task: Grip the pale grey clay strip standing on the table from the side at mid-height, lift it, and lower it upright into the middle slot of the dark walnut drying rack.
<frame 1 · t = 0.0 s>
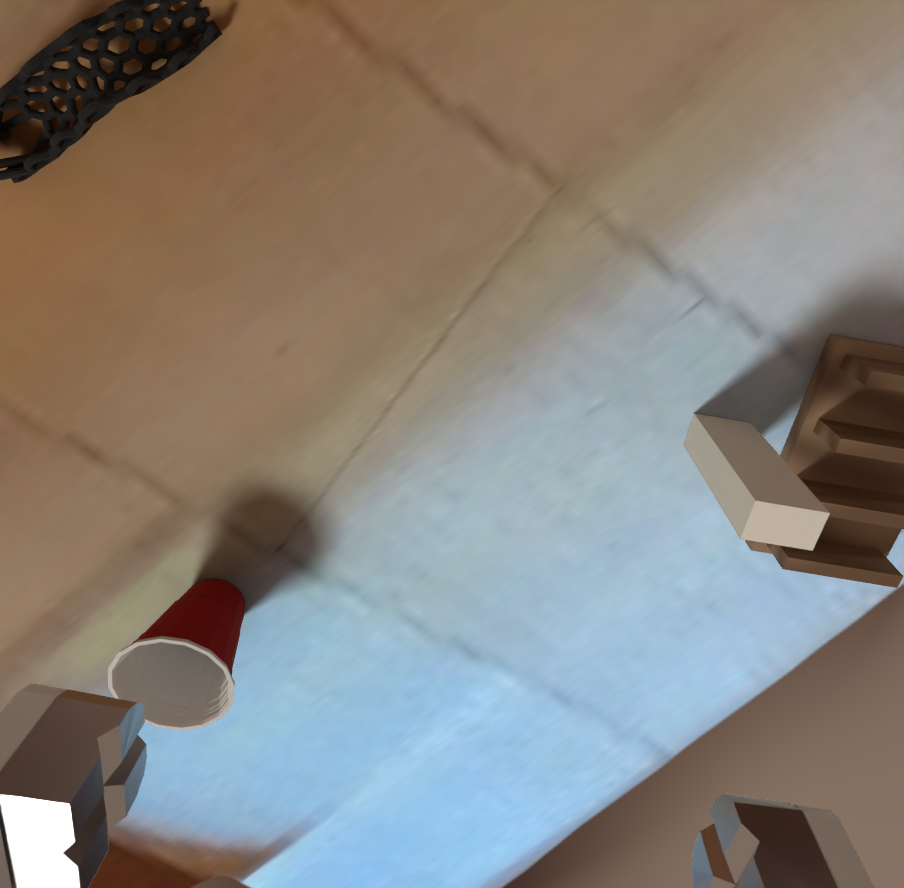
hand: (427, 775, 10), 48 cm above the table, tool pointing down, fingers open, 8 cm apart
decorative element: (95, 97, 50), on the table
drying rack: (852, 456, 59), on the table
clay strip: (716, 433, 59), on the table
plastic cup: (220, 600, 70), on the table
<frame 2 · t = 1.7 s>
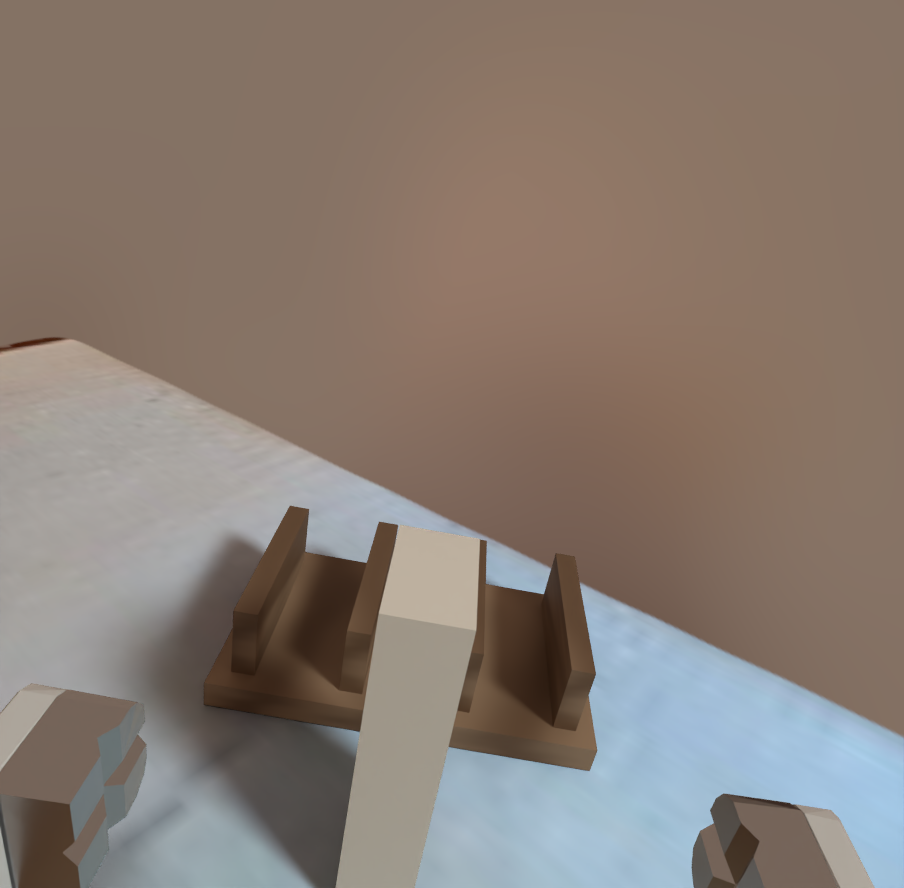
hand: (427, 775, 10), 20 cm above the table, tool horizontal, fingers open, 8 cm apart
drying rack: (411, 654, 40), on the table
clay strip: (379, 852, 29), on the table
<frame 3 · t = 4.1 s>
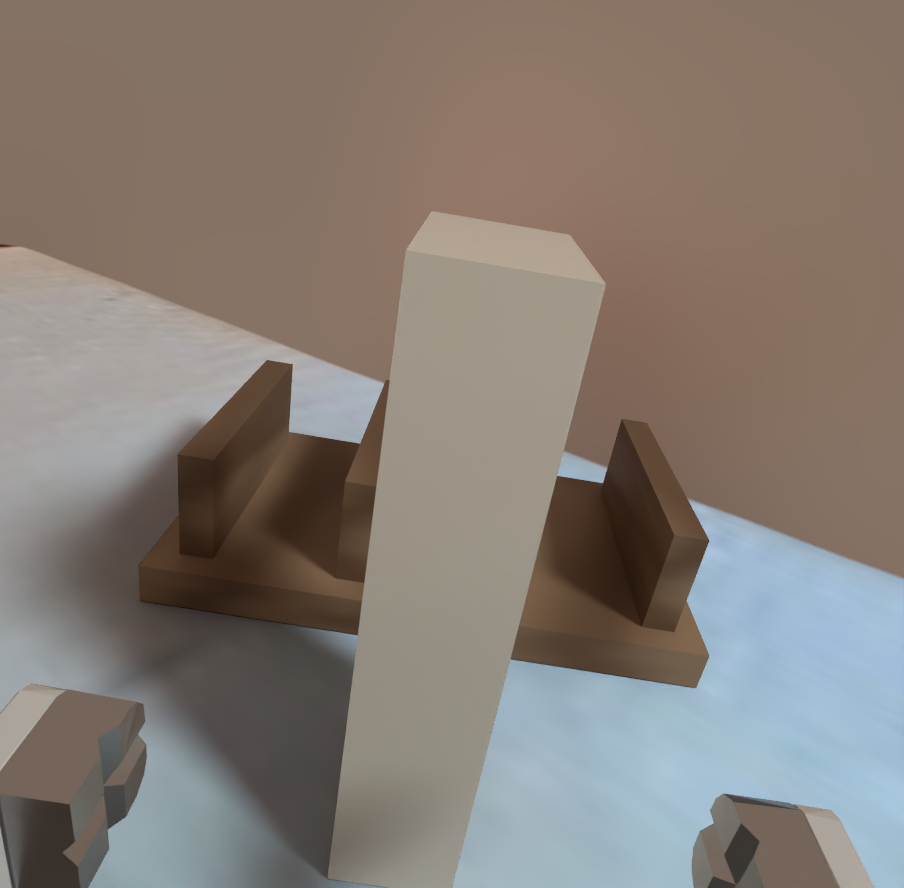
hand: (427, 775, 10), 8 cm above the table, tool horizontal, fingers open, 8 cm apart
drying rack: (433, 549, 30), on the table
clay strip: (400, 795, 19), on the table
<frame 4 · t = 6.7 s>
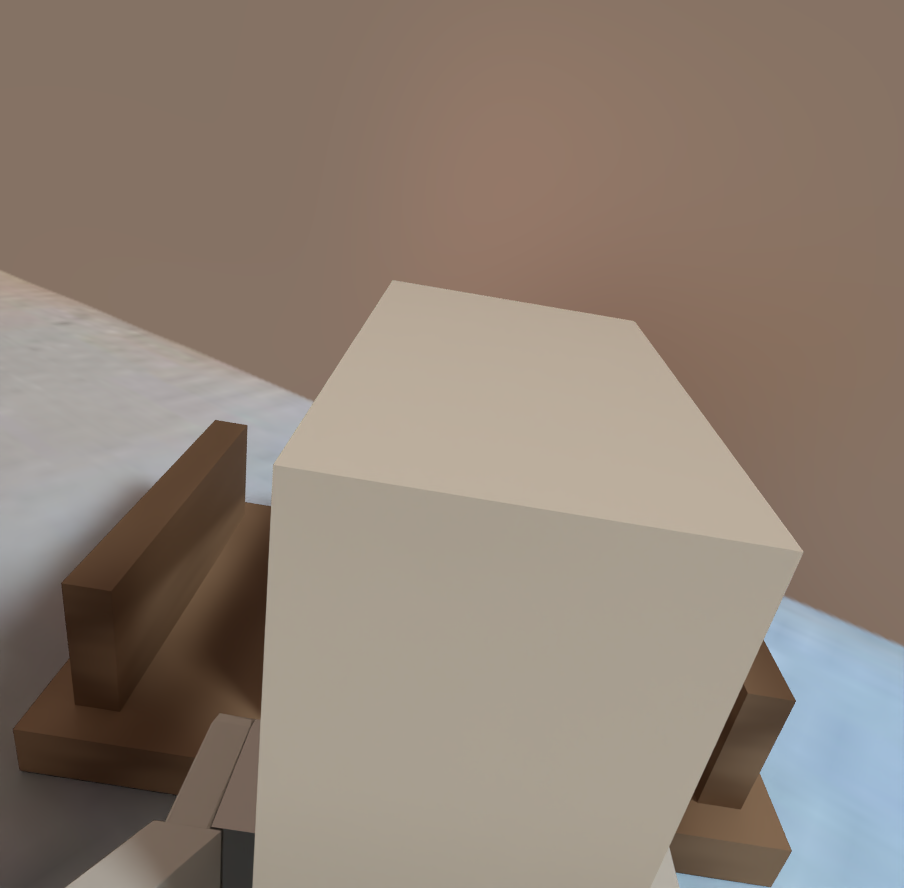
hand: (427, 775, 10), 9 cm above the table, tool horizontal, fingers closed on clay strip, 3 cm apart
drying rack: (420, 665, 23), on the table
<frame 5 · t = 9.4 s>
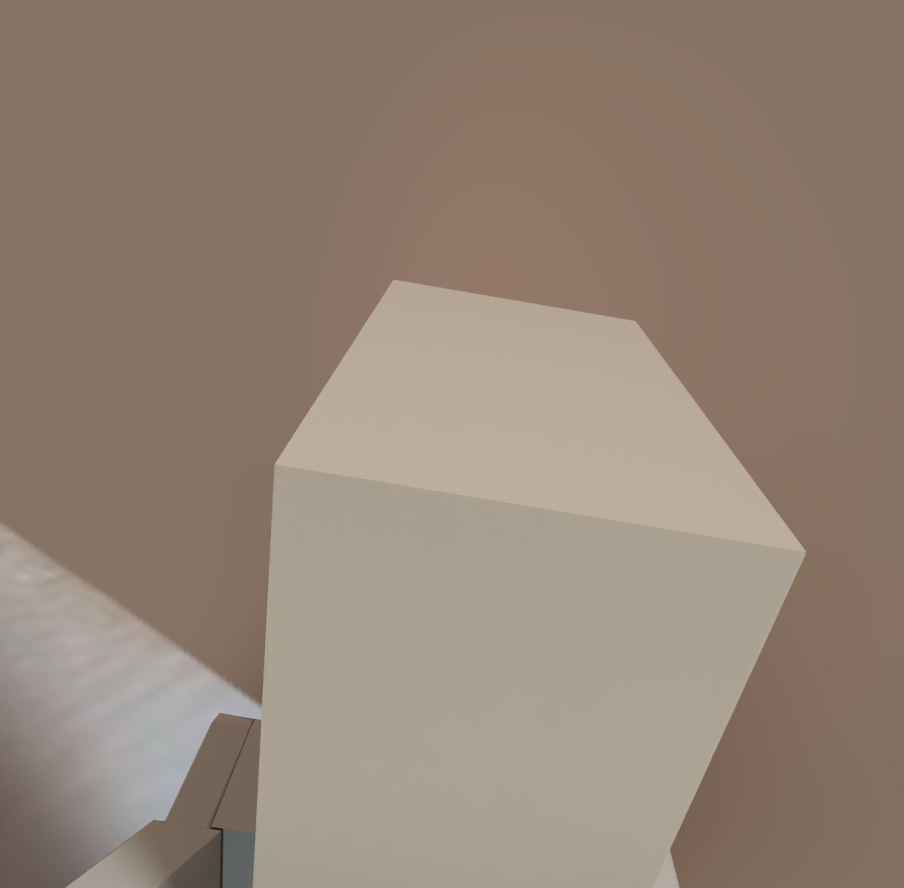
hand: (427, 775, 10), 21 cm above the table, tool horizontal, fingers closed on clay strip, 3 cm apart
when the fingers open (11 cm above the table, at t = 12.4 s): clay strip stays where it is, resting on drying rack.
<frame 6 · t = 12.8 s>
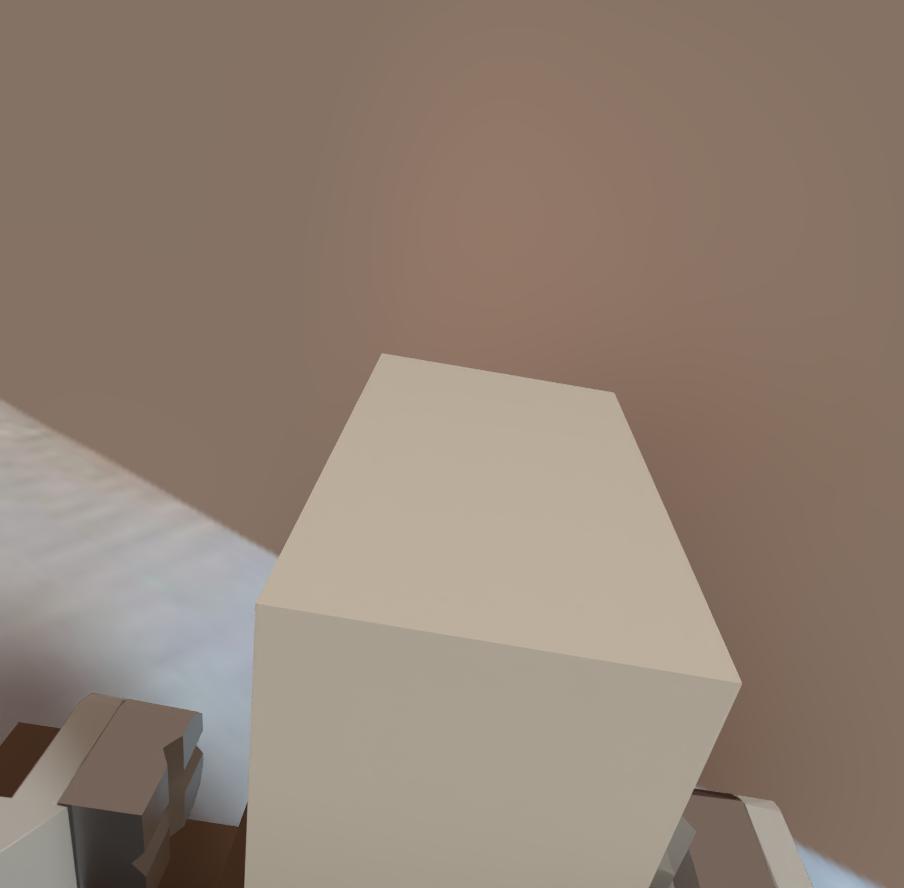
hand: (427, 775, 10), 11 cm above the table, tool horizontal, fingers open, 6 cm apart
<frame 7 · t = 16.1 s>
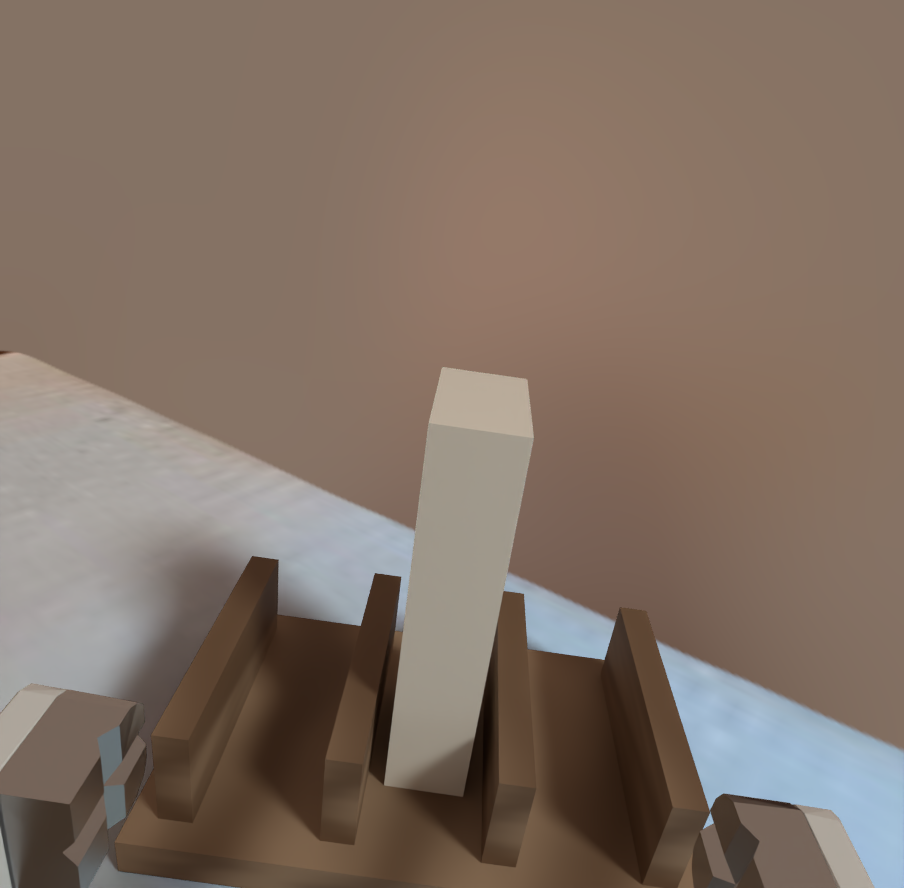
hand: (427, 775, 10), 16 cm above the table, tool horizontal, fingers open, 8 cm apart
drying rack: (425, 761, 28), on the table
clay strip: (429, 737, 28), point 1 cm above the table, touching drying rack
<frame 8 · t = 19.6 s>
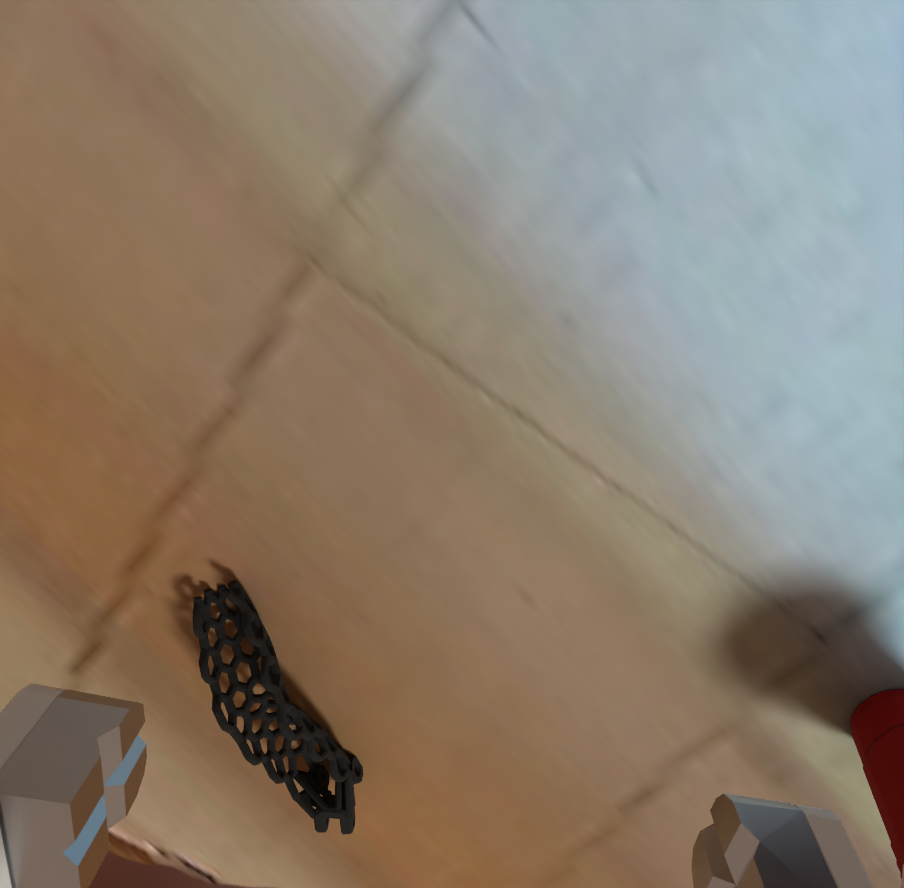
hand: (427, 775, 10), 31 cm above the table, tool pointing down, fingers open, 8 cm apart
decorative element: (294, 691, 52), on the table
plastic cup: (891, 713, 49), on the table
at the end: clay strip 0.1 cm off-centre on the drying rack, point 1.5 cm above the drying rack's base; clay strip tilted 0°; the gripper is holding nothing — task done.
